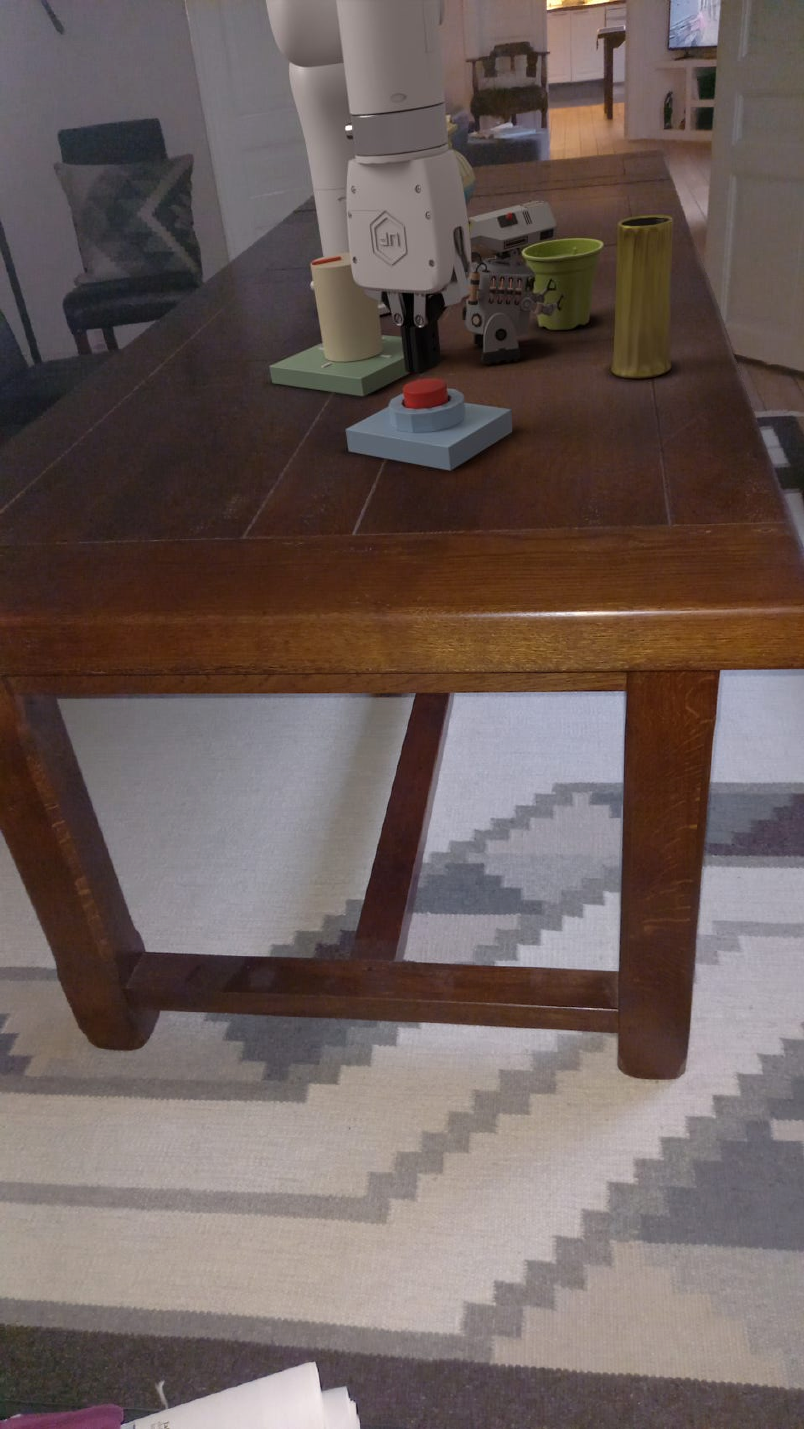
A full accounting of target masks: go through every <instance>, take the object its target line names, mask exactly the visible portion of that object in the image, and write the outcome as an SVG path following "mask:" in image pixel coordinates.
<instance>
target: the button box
mask: <svg viewBox="0 0 804 1429" xmlns="http://www.w3.org/2000/svg"><path fill="white" fill-rule="evenodd" d="M447 395H448V402H447V403H446V404H444V405H441V406H437V407H433V408H429V409H411V408H406V407H405V401H404V392H402V393H400V394H399V395H397V396H395V397H393V398H391V399H390V402H389V403H388V406H387V407H385V408H383V409H381V410H379V411H377V412H376V413H373V414H371V416H370V415H369V416H368V417H366V418H365V419H362V420H360V421H359V422H357V423H355V424H352V425H351V426H349V427H347V428H346V429H345V435H346V442H347V448H348V452H351V453H354V454H355V453H356V454H361V455H366V456H370V457H371V456H372V457H377V458H382V459H386V460H393V461H397V462H403V463H407V464H408V463H409V464H414V465H419V466H425V467H429V468H434V469H440V470H445V471H453V470H454V469H456V468H457V467H459V466H460V465H462V464H464V463H465V462H467V461H468V460H470V459H472V458H473V457H475V456H476V455H478V454H479V453H480V452H483V451H484V450H486V449H487V448H489V447H490V446H492V445H493V444H495V443H497V442H498V441H500V440H501V439H504V438H505V437H506V436H508V435H510V434H511V433H513V418H512V409H511V408H504V407H497V406H489V405H483V404H477V403H476V404H474V403H469V402H465V395H464V393H462V392H461V391H459V390H457V389H456V388H455V389H454V388H448V387H447Z"/></svg>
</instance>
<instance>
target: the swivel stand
mask: <svg viewBox="0 0 804 1429" xmlns="http://www.w3.org/2000/svg"><path fill="white" fill-rule="evenodd" d="M382 342H383V351H382V352H381V353H379V354H378V355H376V356H373V357H371V358H367V359H363V360H358V361H350V362H336V361H330V360H328V359H326V358H325V355H324V348H323V342H321V343H319V344H317V345H314V346H312V347H309V348H307V349H305V350H302V351H300V352H299V353H296V354H293V355H292V356H289V357H287V358H285V359H282V360H280V361H278V362H275V363H273V364H271V365H269V372H270V378H271V382H272V384H276V385H282V386H289V387H296V388H302V389H310V390H315V391H322V392H331V393H339V394H345V395H351V396H359V397H366V396H367V395H369V394H372V393H373V392H376V391H377V390H380V389H382V388H384V387H385V386H387V385H389V384H391V383H393V382H396V381H397V380H399V379H401V378H404V377H405V376H407V375H409V374H412V373H411V372H406V370H405V362H404V355H403V347H402V338H401V336H397V335H396V336H394V335H385V334H382Z"/></svg>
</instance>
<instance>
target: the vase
mask: <svg viewBox="0 0 804 1429" xmlns="http://www.w3.org/2000/svg"><path fill="white" fill-rule="evenodd" d="M673 235H674V218H673V217H672V216H670V215H664V214H649V215H639V216H632V217H628V218H625V219H622V220H620V221H618V223H617V235H616V237H617V238H616V271H615V272H616V273H615V305H614V306H615V310H614V311H615V312H614V339H613V353H612V354H613V356H612V365H611V368H610V370H611V374H613V375H615V376H617V377H620V378H624V379H631V380H632V379H633V380H639V379H640V380H641V379H650V378H656V377H658V376H662V375H665V374H666V373H668V372H669V371H670V370H671V368H672V362H671V350H670V348H671V346H670V345H671V337H670V336H671V331H670V330H671V295H672V294H671V290H672V289H671V286H672V285H671V284H672V281H671V280H672V279H671V278H672V260H673V259H672V257H673V241H674V240H673V239H674V236H673Z"/></svg>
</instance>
